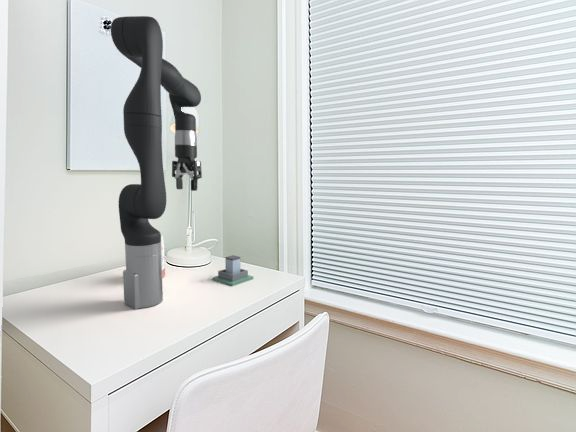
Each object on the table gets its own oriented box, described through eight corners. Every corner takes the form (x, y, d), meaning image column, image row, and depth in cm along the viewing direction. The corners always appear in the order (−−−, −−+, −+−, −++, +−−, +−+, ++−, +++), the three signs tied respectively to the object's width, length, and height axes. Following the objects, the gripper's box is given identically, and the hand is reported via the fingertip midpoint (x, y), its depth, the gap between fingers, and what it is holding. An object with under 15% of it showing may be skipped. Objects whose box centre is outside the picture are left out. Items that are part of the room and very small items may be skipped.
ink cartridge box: (151, 275, 118) (150, 234, 116) (165, 275, 117) (164, 235, 116) (140, 283, 109) (138, 239, 107) (155, 284, 109) (154, 240, 107)
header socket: (232, 286, 109) (232, 277, 108) (212, 279, 115) (212, 271, 114) (253, 278, 116) (253, 270, 116) (233, 272, 122) (233, 265, 122)
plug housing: (232, 279, 113) (232, 259, 112) (225, 276, 115) (225, 257, 114) (240, 276, 116) (240, 257, 115) (233, 274, 118) (233, 255, 117)
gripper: (164, 144, 119) (166, 189, 122) (189, 142, 111) (190, 191, 113) (182, 145, 125) (183, 188, 128) (207, 144, 117) (207, 190, 119)
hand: (186, 190), depth 120 cm, fingers open, 8 cm apart
